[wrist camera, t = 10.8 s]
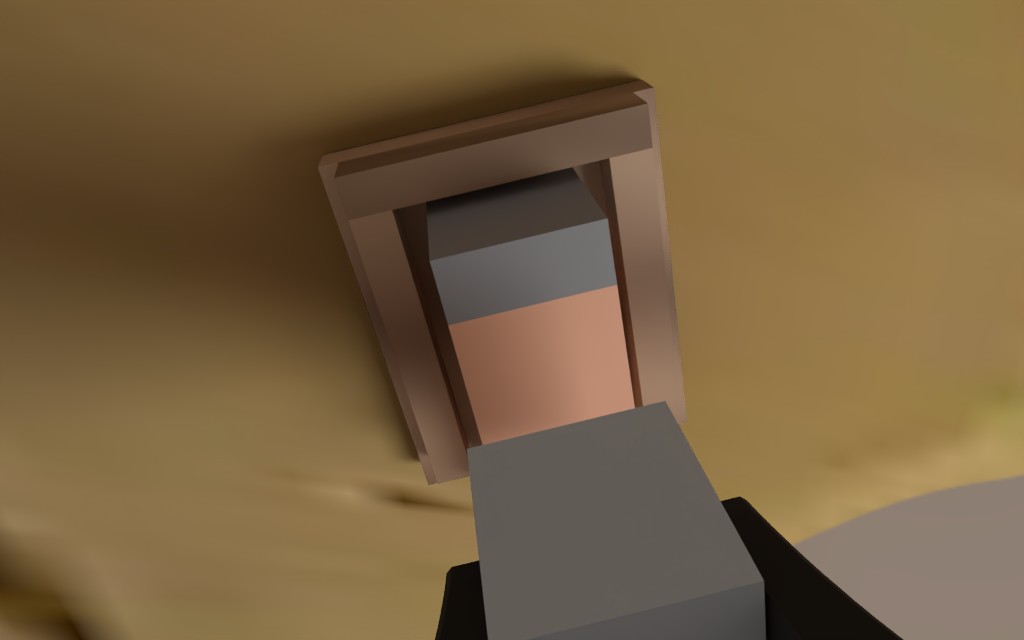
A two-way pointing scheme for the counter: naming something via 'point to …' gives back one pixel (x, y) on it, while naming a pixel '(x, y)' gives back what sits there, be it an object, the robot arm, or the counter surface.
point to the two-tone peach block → (531, 303)
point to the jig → (484, 163)
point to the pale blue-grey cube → (609, 536)
